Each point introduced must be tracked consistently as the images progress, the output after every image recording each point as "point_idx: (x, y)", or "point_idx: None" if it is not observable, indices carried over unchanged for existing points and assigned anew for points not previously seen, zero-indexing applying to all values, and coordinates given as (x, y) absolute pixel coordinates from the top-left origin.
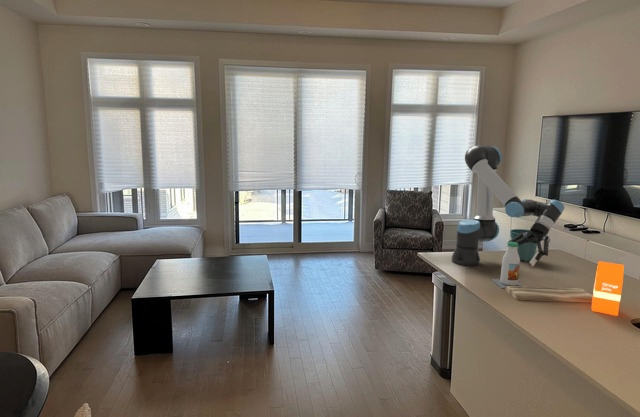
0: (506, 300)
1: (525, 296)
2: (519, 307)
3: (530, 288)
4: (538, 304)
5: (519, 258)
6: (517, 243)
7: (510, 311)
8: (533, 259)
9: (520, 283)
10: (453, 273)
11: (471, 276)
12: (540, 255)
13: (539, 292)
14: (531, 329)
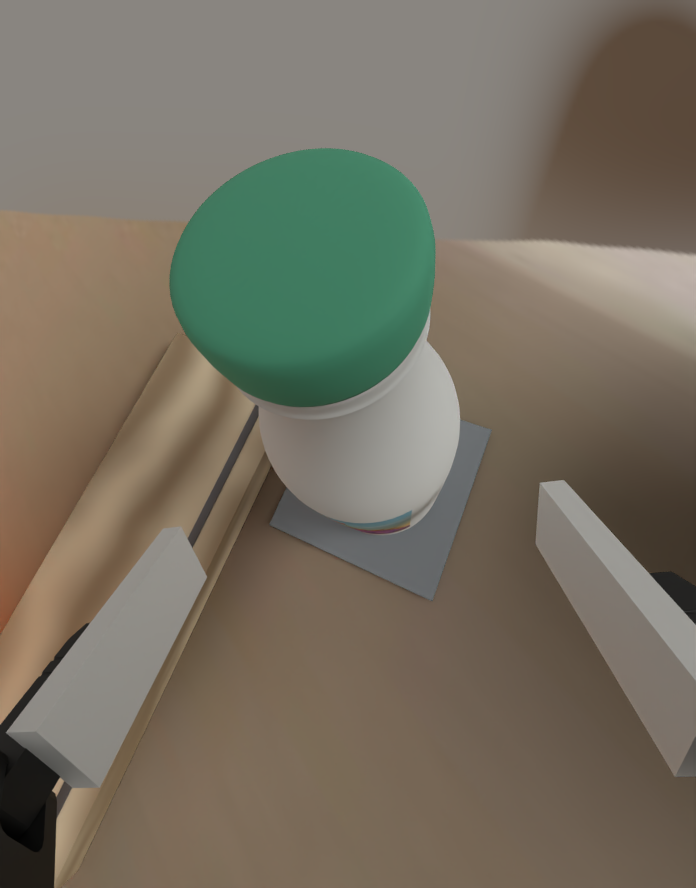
0: None
1: (159, 370)
2: (136, 299)
3: (213, 486)
4: (114, 400)
5: (270, 462)
6: (187, 306)
7: (130, 245)
8: (127, 577)
9: (358, 564)
10: (672, 273)
11: (587, 349)
12: (17, 716)
13: (149, 483)
14: (23, 223)
